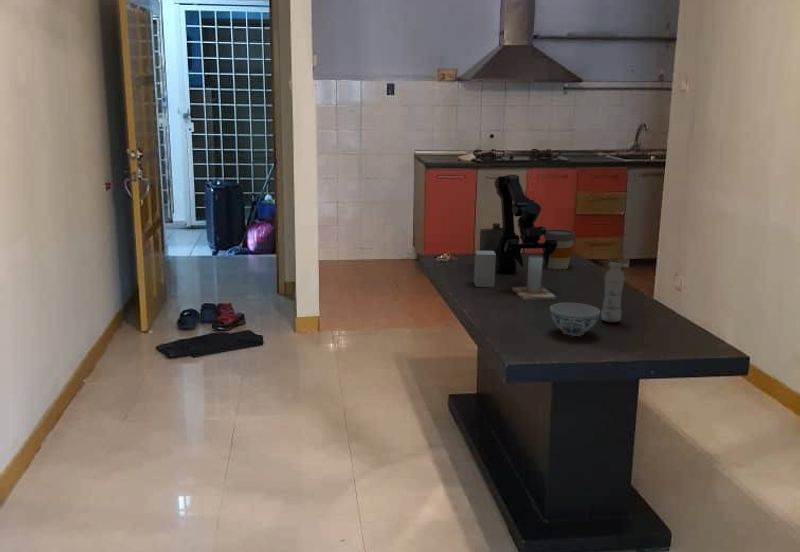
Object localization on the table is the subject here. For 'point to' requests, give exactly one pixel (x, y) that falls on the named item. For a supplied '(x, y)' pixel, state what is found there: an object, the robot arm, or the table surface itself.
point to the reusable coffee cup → (560, 248)
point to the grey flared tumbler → (534, 274)
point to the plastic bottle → (613, 292)
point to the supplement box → (484, 268)
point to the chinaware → (574, 317)
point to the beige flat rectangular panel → (533, 294)
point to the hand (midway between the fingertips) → (534, 265)
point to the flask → (491, 239)
